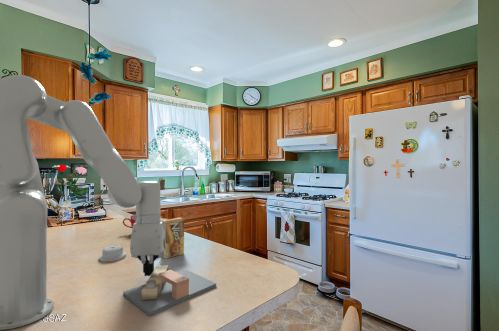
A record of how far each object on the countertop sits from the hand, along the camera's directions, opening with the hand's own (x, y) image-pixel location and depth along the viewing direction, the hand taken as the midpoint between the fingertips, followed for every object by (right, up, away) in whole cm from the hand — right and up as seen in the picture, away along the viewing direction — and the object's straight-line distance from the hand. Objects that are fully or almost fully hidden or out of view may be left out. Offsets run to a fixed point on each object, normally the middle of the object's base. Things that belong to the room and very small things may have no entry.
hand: (148, 274), depth 85 cm
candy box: (0, -3, +25) cm, 26 cm away
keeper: (+11, -1, -9) cm, 14 cm away
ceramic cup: (-30, -3, +62) cm, 69 cm away
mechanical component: (-24, -3, +23) cm, 33 cm away
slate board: (+9, -2, -6) cm, 12 cm away
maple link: (+5, -1, -5) cm, 7 cm away
